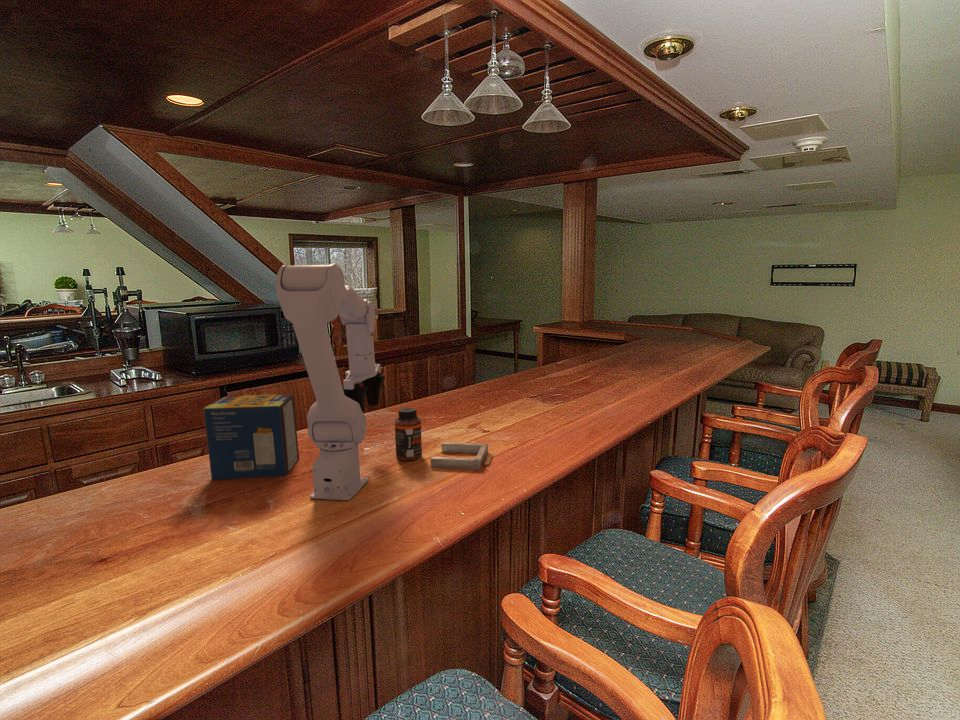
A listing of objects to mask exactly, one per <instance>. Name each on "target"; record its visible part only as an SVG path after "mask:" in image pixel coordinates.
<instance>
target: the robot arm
mask: <svg viewBox="0 0 960 720" xmlns="http://www.w3.org/2000/svg"><path fill="white" fill-rule="evenodd" d="M275 291H276V295H277V299H278V302H279V305H280V307H281V310H282V312H283V315H284V318H285V320H287V321H289V322H290V323H292V326H293V330H294V334H295V336H296V339H297V343H298V347H299V349H300V352H301V356H302V358H303V361H304V365H305V370H306V372H307V375H308V378H309V381H310V384H311V387H312V390H313V393H314V396H315V397H314V398H315V400H316V401H315V402H313V403H312V405H311V406H310V407H309V409H308V411H307V415H306V420H307V421H306V422H307V433H308V437H309V439H310V440H311V442H312V443H313V444H315V446H316V449H319V453H318V456H317V457H316V458H315V460H314V461H313V464H312V466H311V467H312V469H311V470H312V481H313V482H312V483H313V492H312V493H311V494H310V495H309V499H317V500H320V499H321V500H334V501H335V500H336V501H337V500H338V501H350V500H351V499H352V498H354V496H355V495H356V494H357V493H358V492H359V491H360V490H361V488H363V487H364V486H365V485H366V484H367V483H368V482H369V478H368V477H361V467H360V450H359V444H361V443H362V442H363V441H364V440H365V438H366V434H367V418H366V415H365V399H366V401H367V404H368V406H370V407H371V406H372V407H373V406H374V407H377V406H378V405H379V400H380V393H381V389H382V386H383V383H384V380H385V378H386V376H385V374H383V373H381V364H380V363H376V360H375V359H376V358H375V356H376V355H375V348H374V347H375V344H374V343H375V342H374V332H375V319H376V311H375V305H374V304H375V303H374V302H373V301H371V300H370V299H368V298H363V297H362V296H361V295H360V294H359V293H358V292H357V291H356V290H355V289H354V288H353V287H352V285H350V284H348V285H347V284H346V281H345V275H344V272H343V270H342V268H341V267H340V266H339V265H338V264H337V263H330V264H304V265H301V264H298V265H297V264H296V265H290V264H283V265H282V266H280V268H279V269H278V271H277V273H276V282H275ZM338 317H340V321H341V324H342V325H343V326H345V332H346V333H345V334H346V335H345V336H346V344H347V356H348V357H347V358H348V368H349V370H346V371H345V372H344V373H345V376H346V378H345V379H343V381H341V376H340V373H339V370H338V366H337V362H336V359H335V354H334V351H333V350H334V349H333V347H332V343H331V340H330V335H329V332H328V328H327V325H328V324H329V323H330V322H332V321H334V320H335V319H337V318H338ZM342 382H343V385H342ZM360 383H362V384H363V387H361V385H360ZM365 397H366V398H365Z"/></svg>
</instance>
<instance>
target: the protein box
mask: <svg viewBox="0 0 960 720" xmlns="http://www.w3.org/2000/svg"><path fill="white" fill-rule="evenodd" d="M202 410H203V415H204V424H205V433H206V440H207V442H206V443H207V451H208V459H209V467H210V477H211V481H218V480H221V481H222V480H238V479H239V480H240V478H243V479H257V478H258V479H259V478H260V477H262V478H279V477H280V476H282V477H286V476H287V475H288V474H289V473H290V472H291V470H292V469H293V468H294V466H295V465H296V464H297V462H298V460H300V453H299V443H298V432H297V421H296V411H295V399H294V394H293V393H282V394H281V393H280V394H260V395H259V394H254V395H235V396H234V395H231V396H229V395H228V396H222V397H221V398H219V399H217V400H216V401H214V402H213V403H211V404H209V405H207V406H205V407H204V408H203V409H202Z"/></svg>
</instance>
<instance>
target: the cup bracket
mask: <svg viewBox="0 0 960 720" xmlns="http://www.w3.org/2000/svg"><path fill="white" fill-rule="evenodd" d="M440 445H441V453H456V452H465V453H464V454H476V456H475V457H469V458H468V457H448V456H431V457H430V468H434V467H444V468H443V469H455V468H459V469H460V470H461V469H462V470H479V471H480V470H481V468H482V466H488V467H489V466H490V464H491V462H492V459H493V456H494V455H493V454H488V453H489V451H488V450H489V446H488V445H489V444H488V443H479V442H477V443H474V442H472V443H471V442H454V441H453V442H451V441H442V442H441V444H440Z"/></svg>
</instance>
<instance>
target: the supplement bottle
mask: <svg viewBox="0 0 960 720" xmlns="http://www.w3.org/2000/svg"><path fill="white" fill-rule="evenodd" d="M417 414H418V413H417V409H416V408H415V407H402V408H399V409H398V417H397V418H396V419H395V420H394V440H395V457H396V459H398V460H399V461H400V460H401V461H403V462H411V461H416V460H418V459H420V458H421V457H422V455H423V451H422V450H423V447H422V445H423V444H422V442H423V441H422V420H421V419H420V418H419V417H418V415H417Z"/></svg>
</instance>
